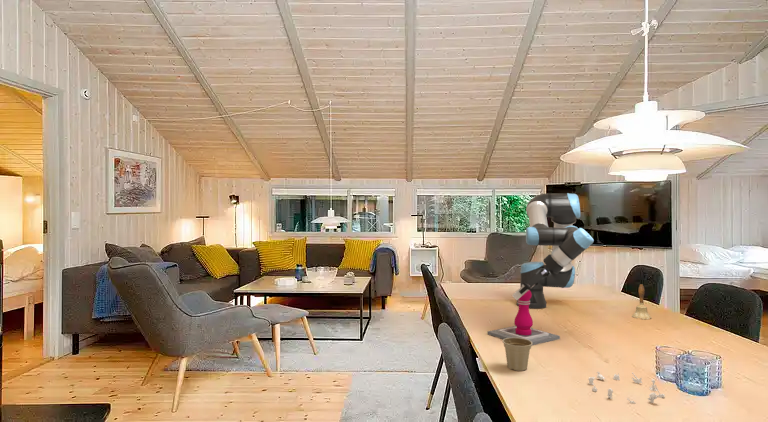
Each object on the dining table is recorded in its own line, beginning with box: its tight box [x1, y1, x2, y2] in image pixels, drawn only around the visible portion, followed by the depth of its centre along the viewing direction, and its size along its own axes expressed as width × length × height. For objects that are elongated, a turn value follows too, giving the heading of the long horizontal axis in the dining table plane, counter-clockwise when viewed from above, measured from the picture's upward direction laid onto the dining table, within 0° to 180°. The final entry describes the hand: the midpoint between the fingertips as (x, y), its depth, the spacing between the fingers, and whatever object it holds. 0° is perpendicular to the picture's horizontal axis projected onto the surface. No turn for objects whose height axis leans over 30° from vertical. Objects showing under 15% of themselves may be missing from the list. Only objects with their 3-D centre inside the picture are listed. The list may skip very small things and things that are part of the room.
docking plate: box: [487, 325, 561, 347], centre depth 189 cm, size 20×20×2 cm
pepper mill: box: [513, 285, 534, 335], centre depth 189 cm, size 7×7×20 cm
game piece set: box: [587, 371, 666, 405], centre depth 134 cm, size 19×20×4 cm
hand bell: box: [631, 283, 652, 320], centre depth 224 cm, size 8×8×16 cm
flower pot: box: [502, 338, 533, 372], centre depth 152 cm, size 9×9×9 cm
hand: (517, 295), depth 190 cm, fingers open, 13 cm apart
